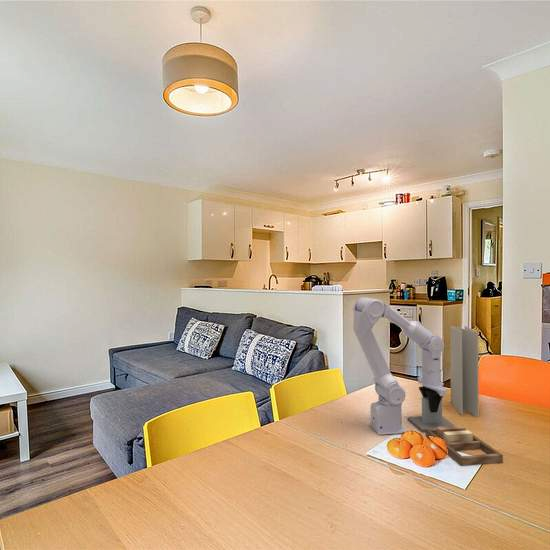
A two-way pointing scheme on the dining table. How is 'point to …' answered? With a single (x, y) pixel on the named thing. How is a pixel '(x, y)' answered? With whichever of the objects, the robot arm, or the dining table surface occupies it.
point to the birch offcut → (458, 436)
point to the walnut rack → (452, 448)
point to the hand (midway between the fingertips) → (431, 410)
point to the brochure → (464, 369)
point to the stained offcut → (448, 430)
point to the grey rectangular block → (429, 416)
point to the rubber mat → (422, 426)
